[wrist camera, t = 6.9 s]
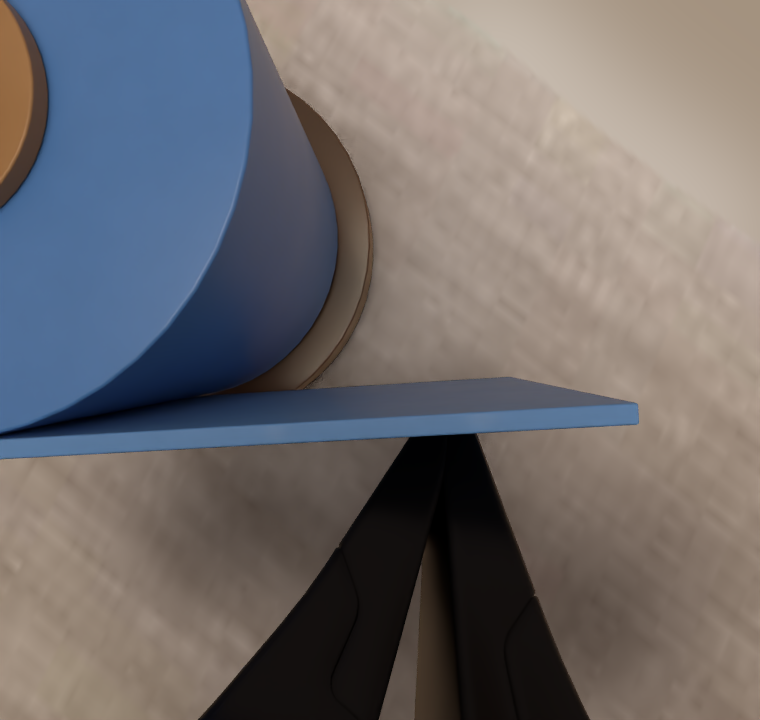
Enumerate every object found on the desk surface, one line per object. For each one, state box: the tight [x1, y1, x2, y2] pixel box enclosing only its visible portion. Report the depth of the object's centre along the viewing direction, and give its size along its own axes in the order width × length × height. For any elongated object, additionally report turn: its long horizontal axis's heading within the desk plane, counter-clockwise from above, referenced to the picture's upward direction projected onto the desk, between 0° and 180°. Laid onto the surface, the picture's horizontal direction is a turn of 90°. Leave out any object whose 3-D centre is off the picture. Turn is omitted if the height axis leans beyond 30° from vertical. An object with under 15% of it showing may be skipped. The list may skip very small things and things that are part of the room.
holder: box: [200, 88, 373, 396], centre depth 16 cm, size 12×12×2 cm
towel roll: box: [0, 0, 639, 459], centre depth 10 cm, size 10×15×10 cm
